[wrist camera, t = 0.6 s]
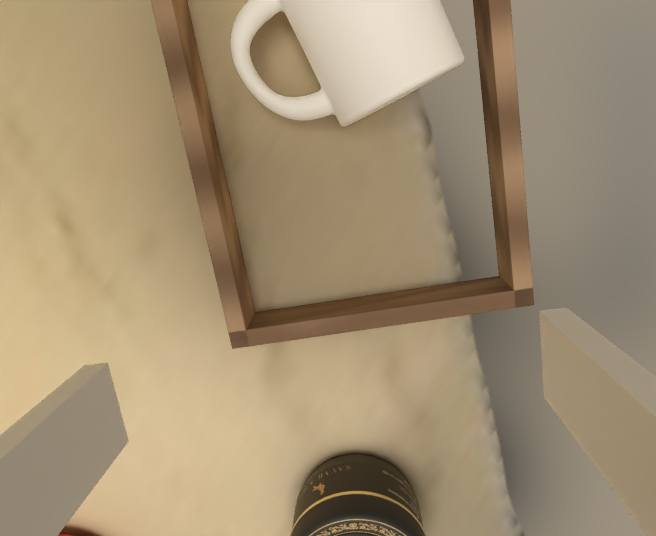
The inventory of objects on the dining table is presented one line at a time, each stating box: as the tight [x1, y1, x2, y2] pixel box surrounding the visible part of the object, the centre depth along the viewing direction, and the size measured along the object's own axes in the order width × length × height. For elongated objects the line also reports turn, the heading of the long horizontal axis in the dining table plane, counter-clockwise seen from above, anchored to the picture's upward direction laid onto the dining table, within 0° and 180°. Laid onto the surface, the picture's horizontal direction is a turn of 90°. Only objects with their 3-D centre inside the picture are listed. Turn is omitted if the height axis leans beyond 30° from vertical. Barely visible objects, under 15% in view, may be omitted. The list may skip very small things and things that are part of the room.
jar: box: [290, 455, 426, 536], centre depth 38 cm, size 10×10×8 cm
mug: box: [230, 0, 464, 127], centre depth 30 cm, size 12×10×8 cm
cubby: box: [151, 0, 534, 349], centre depth 33 cm, size 24×20×4 cm
